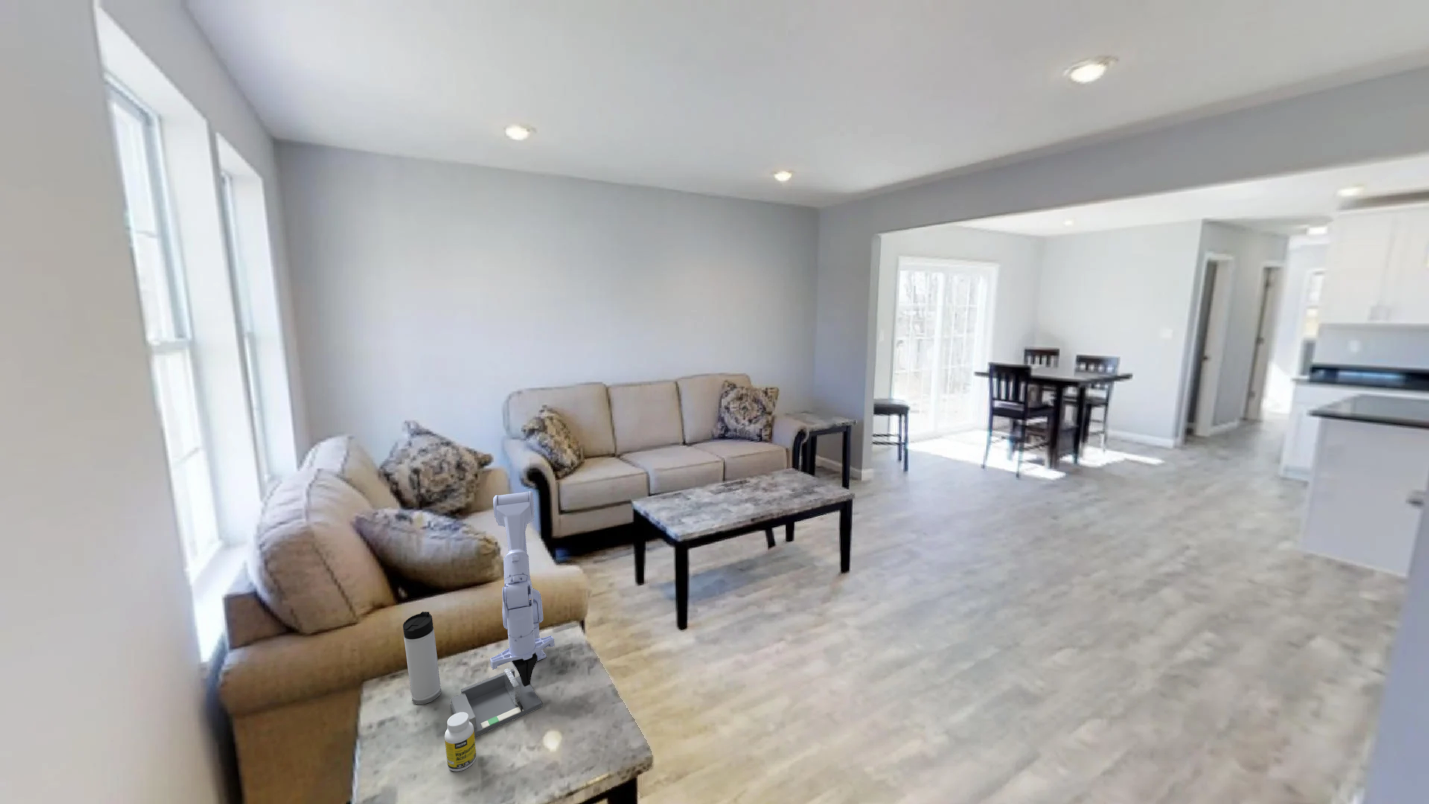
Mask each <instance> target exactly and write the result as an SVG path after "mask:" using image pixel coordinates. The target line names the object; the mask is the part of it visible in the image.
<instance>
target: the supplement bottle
mask: <svg viewBox="0 0 1429 804" xmlns="http://www.w3.org/2000/svg"><path fill="white" fill-rule="evenodd" d="M446 725H447V729H446V731H445V733H444V744H445V745H444V746H445V753H446V765H447V768H448V769H449V770H450V771H452V772H462V771H464V770H466V769H468V768H471V766H472V765H473V764H474V763H475V761H476V759H477V749H476V737H475V736H474V727H473V724H472V723H471V722H469V715H468V714H467V713H465V712H459V713H456V714H454V715H453V714H452V715H451V716H450V717H449V718H448V719H447V721H446Z"/></svg>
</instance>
